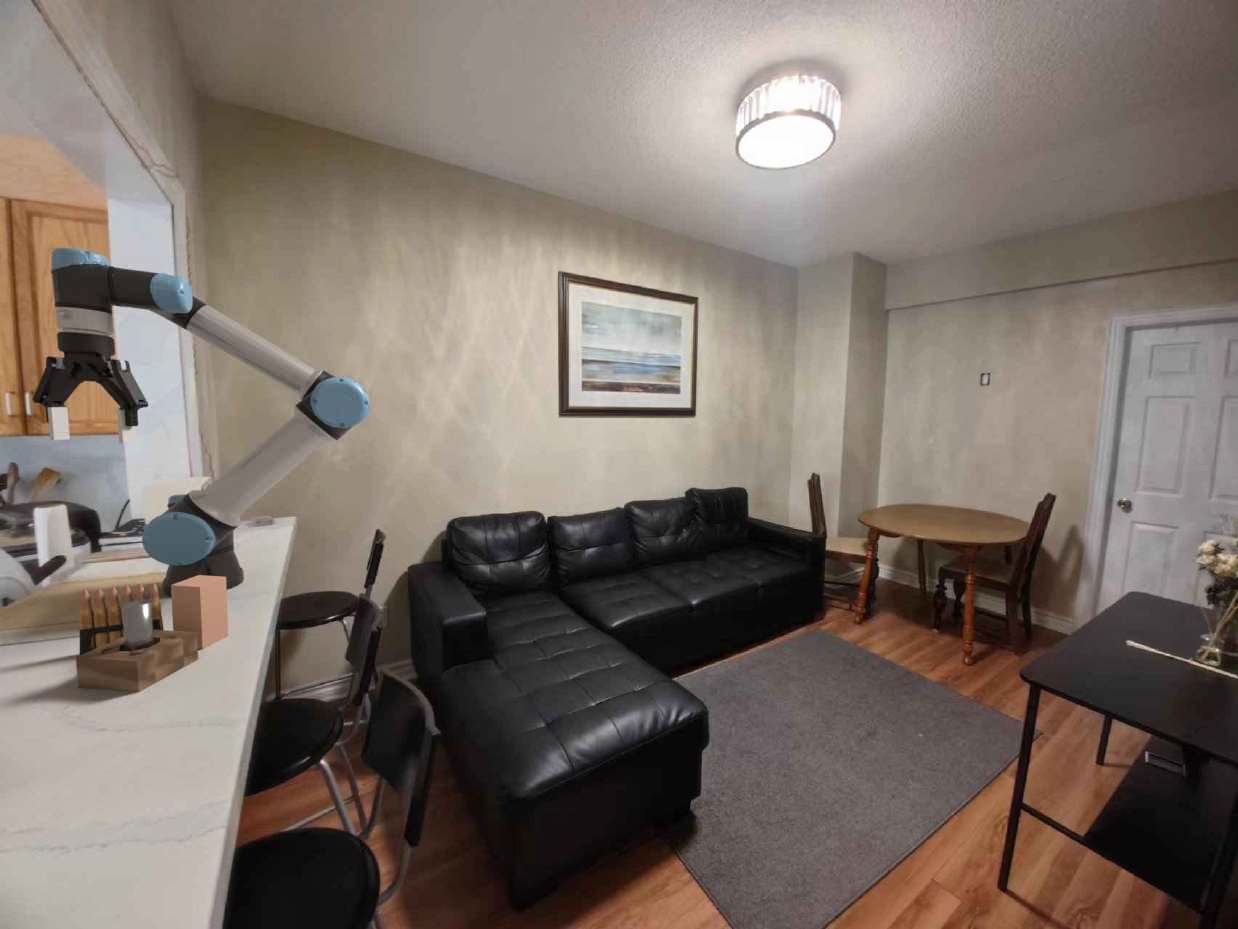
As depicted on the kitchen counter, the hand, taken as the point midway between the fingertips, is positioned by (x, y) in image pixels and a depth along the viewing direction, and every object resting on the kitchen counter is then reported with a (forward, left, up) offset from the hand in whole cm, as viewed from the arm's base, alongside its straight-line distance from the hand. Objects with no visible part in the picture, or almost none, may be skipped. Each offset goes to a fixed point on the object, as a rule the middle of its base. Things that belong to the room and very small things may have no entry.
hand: (94, 441), depth 95 cm
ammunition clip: (+12, +17, -37) cm, 42 cm away
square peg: (+8, +28, -37) cm, 47 cm away
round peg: (+19, +28, -37) cm, 50 cm away
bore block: (+19, +28, -37) cm, 50 cm away
